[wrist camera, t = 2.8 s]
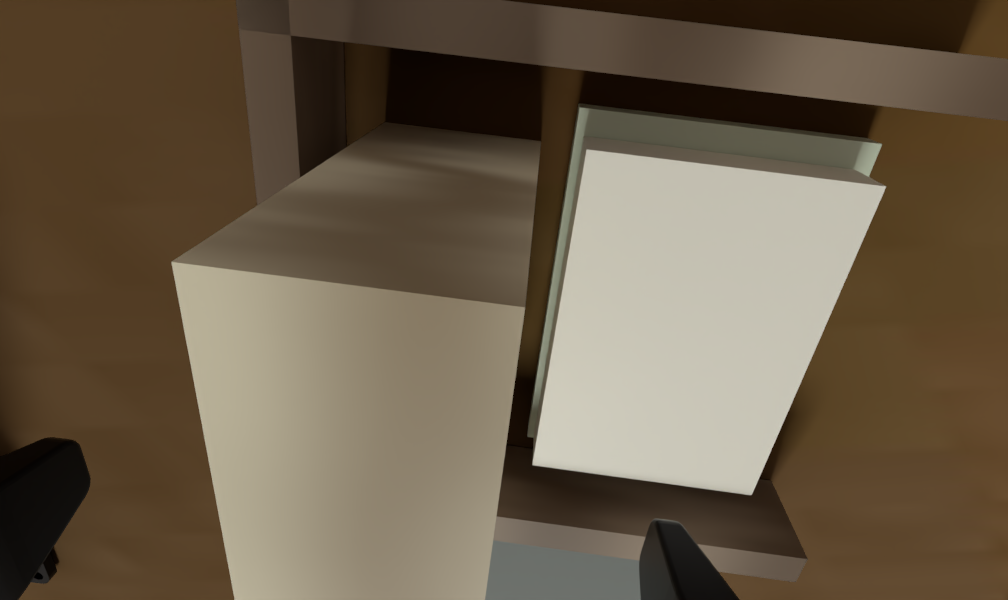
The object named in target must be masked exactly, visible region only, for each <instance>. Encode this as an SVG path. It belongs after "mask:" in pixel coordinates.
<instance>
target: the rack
mask: <svg viewBox="0 0 1008 600" xmlns="http://www.w3.org/2000/svg"><path fill="white" fill-rule="evenodd" d="M236 6H237V16H238V25H239V35H240V44H241V54H242V64H243V73H244V83H245V92H246V102H247V112H248V121H249V131H250V140H251V150H252V159H253V169H254V179H255V188H256V198H257V206H258V205H259V204H261V203H262V202H264V201H265V200H267V199H268V198H270V197H271V196H273V195H274V194H276V193H277V192H279V191H280V190H282V189H283V188H285V187H287V186H288V185H290V184H291V183H293V182H294V181H296V180H297V179H299V178H300V177H302V176H303V175H305V174H306V173H308V172H309V171H311V170H312V169H314V168H316V167H317V166H319V165H320V164H322V163H323V162H325V161H326V160H328V159H329V158H331V157H332V156H334V155H335V154H337V153H338V152H340V151H341V150H343V149H345V148H346V118H345V80H344V43H343V42H350V43H358V44H366V45H375V46H383V47H392V48H400V49H408V50H417V51H425V52H434V53H442V54H450V55H459V56H467V57H476V58H484V59H492V60H501V61H509V62H517V63H526V64H534V65H543V66H551V67H559V68H568V69H576V70H585V71H593V72H601V73H610V74H618V75H627V76H635V77H643V78H652V79H660V80H669V81H677V82H685V83H694V84H702V85H711V86H719V87H727V88H736V89H744V90H752V91H761V92H769V93H778V94H786V95H794V96H803V97H811V98H820V99H828V100H836V101H845V102H853V103H862V104H870V105H878V106H887V107H895V108H904V109H912V110H920V111H929V112H937V113H946V114H954V115H962V116H971V117H979V118H987V119H996V120H1004V121H1008V59H1002V58H994V57H985V56H976V55H968V54H959V53H951V52H942V51H934V50H925V49H917V48H908V47H899V46H891V45H882V44H874V43H865V42H857V41H848V40H839V39H831V38H822V37H814V36H805V35H797V34H788V33H779V32H771V31H762V30H754V29H745V28H737V27H728V26H719V25H711V24H702V23H694V22H685V21H677V20H668V19H659V18H651V17H642V16H634V15H625V14H617V13H608V12H600V11H591V10H582V9H574V8H565V7H557V6H548V5H540V4H531V3H522V2H514V1H505V0H236ZM532 460H533V449H532V448H525V447H517V446H510V445H506V451H505V458H504V465H503V472H502V480H501V487H500V494H499V501H498V509H497V516H496V523H495V531H494V538H493V540H495V541H502V542H509V543H516V544H523V545H531V546H538V547H545V548H552V549H560V550H567V551H574V552H581V553H588V554H596V555H603V556H610V557H617V558H625V559H632V560H639V559H640V554H641V550H642V547H643V544H644V541H645V537H646V534H647V531H648V528H649V525H650V523H651V521H652V520H653V519H656V518H658V519H665V520H673V521H678V522H679V523H681V524H682V525H683V526H684V528H685V529H686V530H687V531H688V533H689V534H690V535H691V537H692V538H693V539H694V541H695V542H696V543H697V545H698V546H699V547H700V549H701V550H702V551H703V552H704V554H705V555H706V556H707V558H708V559H709V560H710V562H711V563H712V564H713V566H714V567H715V568H716V570H717V571H718V572H726V573H733V574H740V575H747V576H755V577H762V578H769V579H776V580H783V581H791V582H796V580H797V578H798V577H799V575H800V573H801V571H802V569H803V567H804V565H805V563H806V561H807V560H808V559H807V557H806V555H805V552H804V550H803V548H802V546H801V544H800V542H799V540H798V537H797V535H796V533H795V531H794V529H793V527H792V524H791V522H790V520H789V518H788V516H787V514H786V511H785V509H784V507H783V505H782V503H781V501H780V499H779V496H778V494H777V492H776V490H775V488H774V486H773V483H772V481H770V480H762V479H759V480H758V482H757V484H756V487H755V489H754V491H753V493H752V495H745V494H738V493H731V492H723V491H716V490H709V489H702V488H694V487H687V486H680V485H672V484H665V483H658V482H651V481H643V480H636V479H629V478H622V477H614V476H607V475H600V474H593V473H585V472H578V471H571V470H563V469H556V468H549V467H542V466H534V465H532Z"/></svg>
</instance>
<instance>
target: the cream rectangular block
mask: <svg viewBox="0 0 1008 600" xmlns="http://www.w3.org/2000/svg"><path fill="white" fill-rule="evenodd" d="M540 148H541V141H536V140H528V139H520V138H511V137H503V136H495V135H487V134H479V133H470V132H462V131H454V130H446V129H438V128H429V127H421V126H413V125H405V124H397V123H389V122H384V123H383V124H381V125H380V126H378V127H377V128H375V129H374V130H372V131H370V132H369V133H367V134H366V135H364V136H363V137H361V138H360V139H358V140H357V141H355V142H354V143H352V144H351V145H349V146H348V147H346V148H345V149H343V150H341V151H340V152H338V153H337V154H335V155H334V156H332V157H331V158H329V159H328V160H326V161H325V162H323V163H322V164H320V165H319V166H317V167H316V168H314V169H312V170H311V171H309V172H308V173H306V174H305V175H303V176H302V177H300V178H299V179H297V180H296V181H294V182H293V183H291V184H290V185H288V186H287V187H285V188H283V189H282V190H280V191H279V192H277V193H276V194H274V195H273V196H271V197H270V198H268V199H267V200H265V201H264V202H262V203H261V204H259V205H258V206H256V207H254V208H253V209H251V210H250V211H248V212H247V213H245V214H244V215H242V216H241V217H239V218H238V219H236V220H235V221H233V222H232V223H230V224H229V225H227V226H226V227H224V228H222V229H221V230H219V231H218V232H216V233H215V234H213V235H212V236H210V237H209V238H207V239H206V240H204V241H203V242H201V243H200V244H198V245H197V246H195V247H193V248H192V249H190V250H189V251H187V252H186V253H184V254H183V255H181V256H180V257H178V258H177V259H175V260H174V261H172V267H173V273H174V278H175V283H176V289H177V294H178V299H179V305H180V310H181V315H182V321H183V326H184V331H185V337H186V342H187V347H188V353H189V358H190V363H191V369H192V374H193V379H194V385H195V390H196V395H197V401H198V406H199V411H200V417H201V422H202V427H203V433H204V438H205V443H206V449H207V454H208V459H209V465H210V470H211V476H212V481H213V486H214V492H215V497H216V502H217V508H218V513H219V518H220V524H221V529H222V534H223V540H224V545H225V550H226V556H227V561H228V566H229V572H230V577H231V582H232V588H233V593H234V598H235V600H485V596H486V589H487V581H488V574H489V567H490V560H491V552H492V545H493V538H494V531H495V523H496V516H497V509H498V501H499V494H500V487H501V480H502V472H503V465H504V458H505V451H506V443H507V436H508V429H509V421H510V414H511V407H512V400H513V392H514V385H515V378H516V371H517V363H518V356H519V349H520V342H521V334H522V327H523V320H524V312H525V304H526V294H527V283H528V273H529V263H530V252H531V242H532V232H533V221H534V211H535V200H536V190H537V180H538V169H539V159H540Z"/></svg>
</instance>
